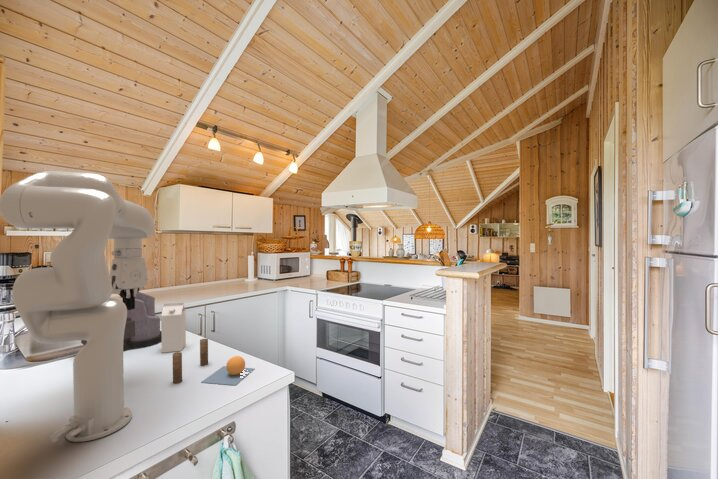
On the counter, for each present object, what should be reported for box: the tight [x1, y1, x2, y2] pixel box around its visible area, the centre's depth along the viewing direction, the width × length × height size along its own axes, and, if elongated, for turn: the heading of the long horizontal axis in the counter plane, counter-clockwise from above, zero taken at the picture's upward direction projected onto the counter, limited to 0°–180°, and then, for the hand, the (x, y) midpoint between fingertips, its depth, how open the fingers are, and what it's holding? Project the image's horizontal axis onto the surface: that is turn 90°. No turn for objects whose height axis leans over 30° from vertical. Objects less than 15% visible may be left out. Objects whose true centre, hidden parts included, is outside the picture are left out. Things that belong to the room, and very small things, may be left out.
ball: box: [225, 355, 246, 375], centre depth 105 cm, size 6×6×6 cm
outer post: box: [199, 338, 209, 367], centre depth 113 cm, size 3×3×9 cm
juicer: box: [80, 291, 162, 353], centre depth 130 cm, size 30×16×24 cm, turn 144°
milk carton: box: [160, 302, 187, 354], centre depth 127 cm, size 7×7×19 cm
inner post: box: [172, 351, 183, 384], centre depth 100 cm, size 3×3×9 cm
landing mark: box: [201, 365, 256, 386], centre depth 104 cm, size 12×12×1 cm
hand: (128, 309), depth 103 cm, fingers closed
